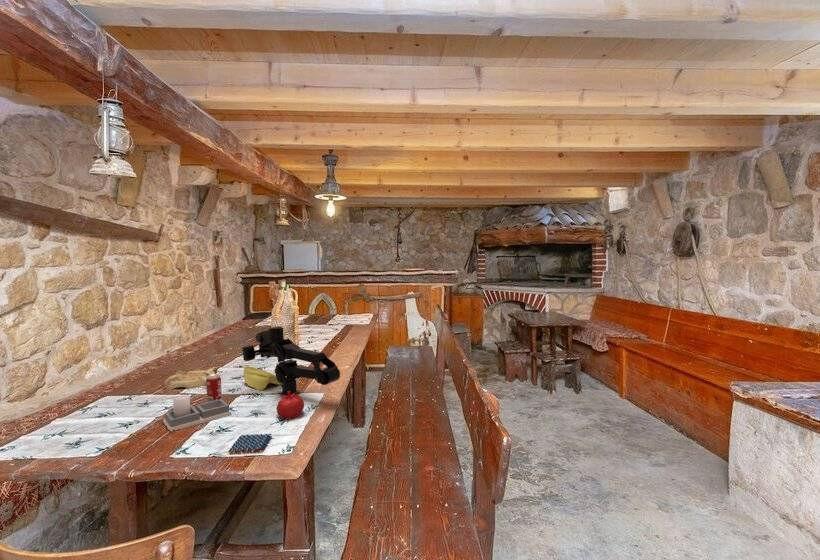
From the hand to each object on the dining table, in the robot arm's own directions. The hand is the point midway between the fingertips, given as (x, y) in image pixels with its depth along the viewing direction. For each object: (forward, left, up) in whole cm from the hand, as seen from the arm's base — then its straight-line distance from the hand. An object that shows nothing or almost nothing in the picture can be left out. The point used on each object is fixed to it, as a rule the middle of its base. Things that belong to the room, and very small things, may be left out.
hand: (252, 348), depth 182 cm
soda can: (-13, +23, -17) cm, 31 cm away
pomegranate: (-45, +9, -17) cm, 49 cm away
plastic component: (-3, -3, -17) cm, 17 cm away
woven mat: (-56, +30, -17) cm, 66 cm away
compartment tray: (-21, +32, -16) cm, 42 cm away
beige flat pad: (+26, +17, -17) cm, 35 cm away
